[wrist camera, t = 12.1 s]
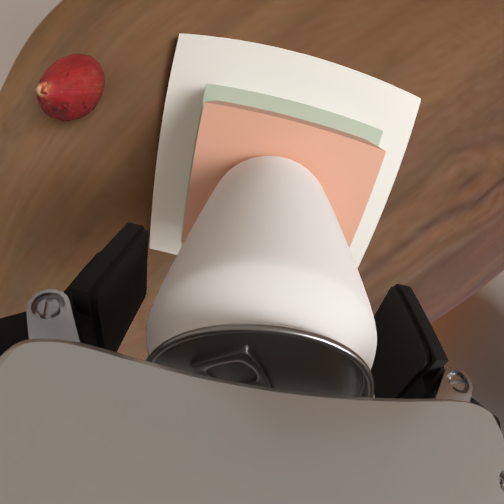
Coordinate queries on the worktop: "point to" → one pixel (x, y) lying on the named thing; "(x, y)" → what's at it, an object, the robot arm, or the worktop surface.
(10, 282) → the worktop surface
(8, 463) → the robot arm
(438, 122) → the worktop surface
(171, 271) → the can
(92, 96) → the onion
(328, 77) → the tiered block pedestal
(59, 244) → the worktop surface
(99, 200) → the worktop surface
